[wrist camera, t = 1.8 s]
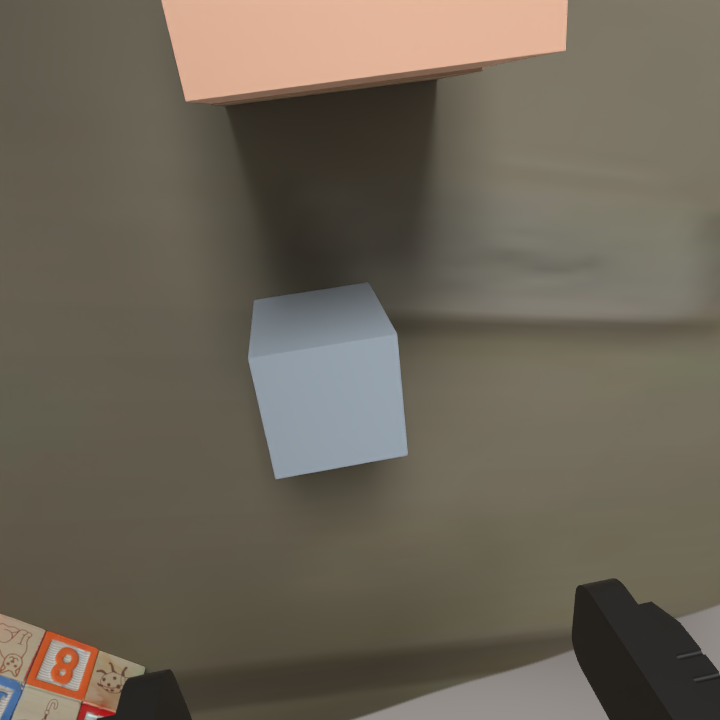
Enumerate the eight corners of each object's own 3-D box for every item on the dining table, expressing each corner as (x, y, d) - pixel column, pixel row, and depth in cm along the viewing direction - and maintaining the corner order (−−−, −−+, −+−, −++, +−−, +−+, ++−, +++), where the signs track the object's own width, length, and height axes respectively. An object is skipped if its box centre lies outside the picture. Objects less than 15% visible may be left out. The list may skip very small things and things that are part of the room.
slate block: (254, 299, 23) (247, 358, 17) (368, 281, 23) (396, 334, 18) (275, 399, 25) (275, 479, 20) (379, 381, 25) (408, 455, 20)
